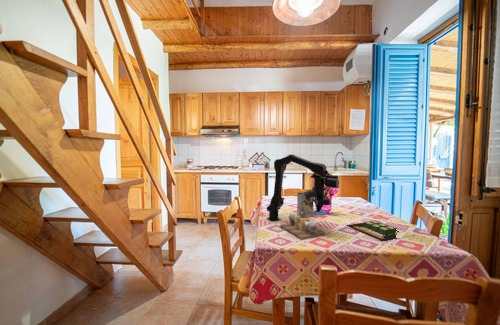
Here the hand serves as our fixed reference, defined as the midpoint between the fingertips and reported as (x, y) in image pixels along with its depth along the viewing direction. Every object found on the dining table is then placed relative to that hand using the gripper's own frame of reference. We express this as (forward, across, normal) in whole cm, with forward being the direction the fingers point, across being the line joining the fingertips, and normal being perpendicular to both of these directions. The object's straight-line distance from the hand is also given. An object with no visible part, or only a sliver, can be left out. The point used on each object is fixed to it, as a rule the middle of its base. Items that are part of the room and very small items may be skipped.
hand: (318, 212), depth 131 cm
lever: (0, +3, -4) cm, 5 cm away
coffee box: (+11, -25, -1) cm, 27 cm away
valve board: (+10, +3, -10) cm, 14 cm away
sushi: (+11, +2, +35) cm, 37 cm away
